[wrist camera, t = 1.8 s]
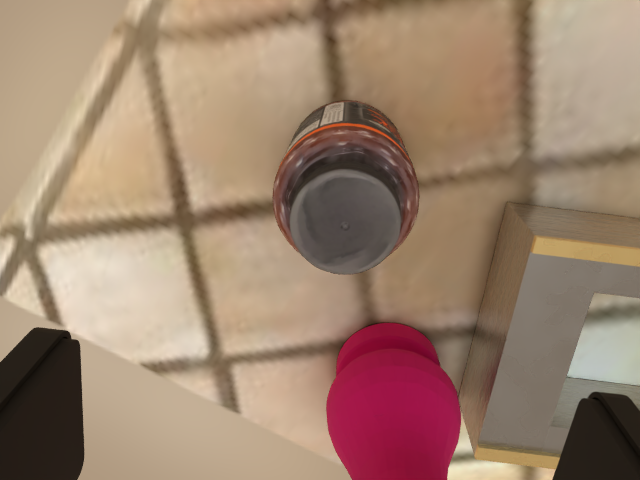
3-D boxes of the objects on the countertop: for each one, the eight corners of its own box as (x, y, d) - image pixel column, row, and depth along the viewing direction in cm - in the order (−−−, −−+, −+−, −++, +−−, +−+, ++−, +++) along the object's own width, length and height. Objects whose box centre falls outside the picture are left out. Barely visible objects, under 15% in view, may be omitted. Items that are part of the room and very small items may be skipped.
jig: (780, 236, 31) (860, 277, 27) (695, 427, 36) (749, 493, 31) (506, 202, 31) (536, 237, 27) (457, 398, 36) (475, 459, 31)
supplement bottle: (424, 163, 31) (465, 241, 20) (337, 227, 32) (333, 331, 22) (356, 72, 29) (361, 106, 19) (267, 145, 31) (227, 213, 20)
